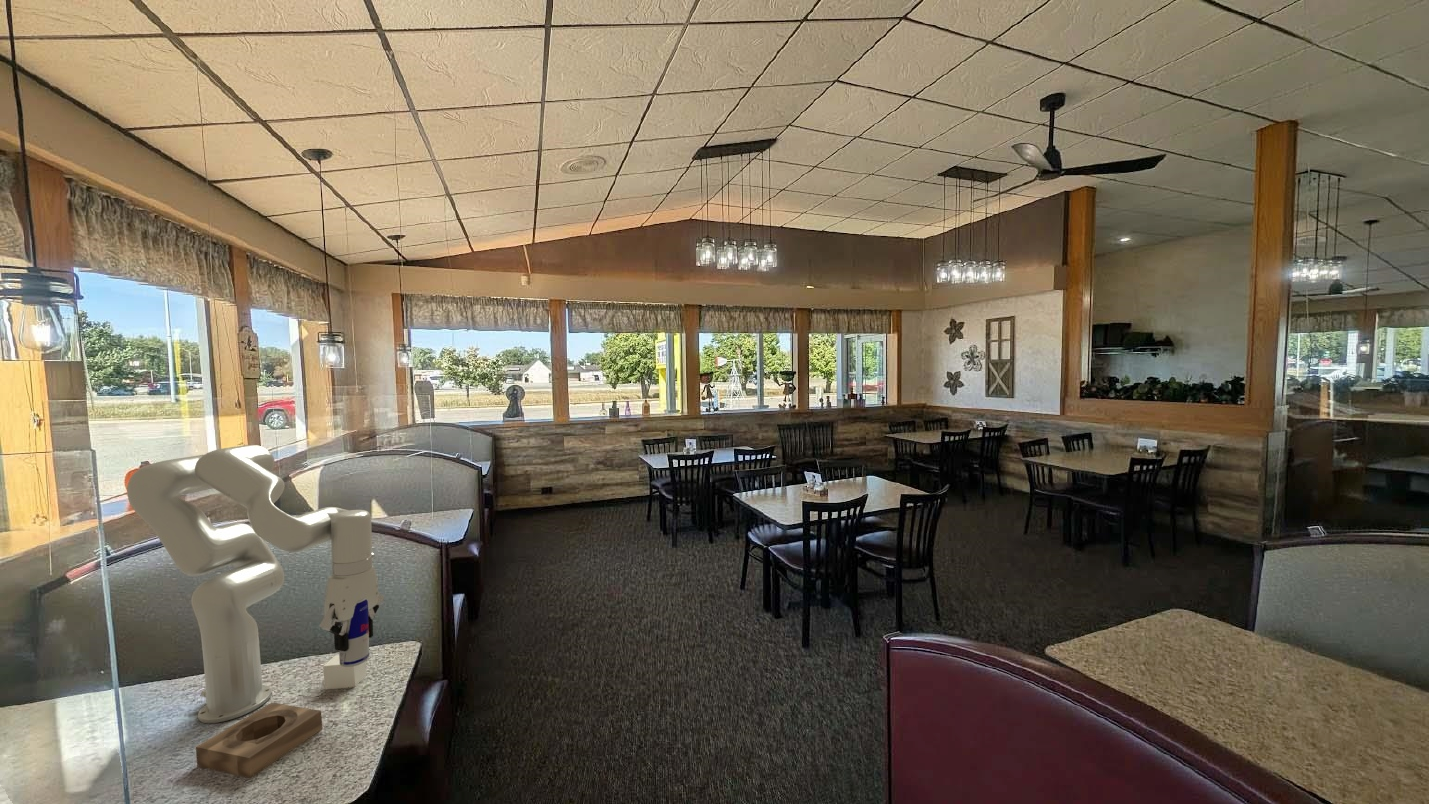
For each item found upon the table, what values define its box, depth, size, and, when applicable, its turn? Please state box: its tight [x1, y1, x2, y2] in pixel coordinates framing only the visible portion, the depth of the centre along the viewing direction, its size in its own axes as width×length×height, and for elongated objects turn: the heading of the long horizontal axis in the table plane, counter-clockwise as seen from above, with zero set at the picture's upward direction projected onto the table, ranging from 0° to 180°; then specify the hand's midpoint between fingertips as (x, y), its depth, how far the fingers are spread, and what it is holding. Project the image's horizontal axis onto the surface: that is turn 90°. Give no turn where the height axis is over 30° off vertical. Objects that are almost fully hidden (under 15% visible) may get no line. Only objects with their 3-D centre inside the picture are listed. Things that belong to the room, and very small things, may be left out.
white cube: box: [322, 654, 368, 690], centre depth 129 cm, size 7×5×6 cm
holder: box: [195, 702, 323, 779], centre depth 107 cm, size 14×14×4 cm
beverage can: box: [338, 598, 370, 667], centre depth 118 cm, size 6×6×15 cm
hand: (354, 642), depth 119 cm, fingers closed on beverage can, 5 cm apart
